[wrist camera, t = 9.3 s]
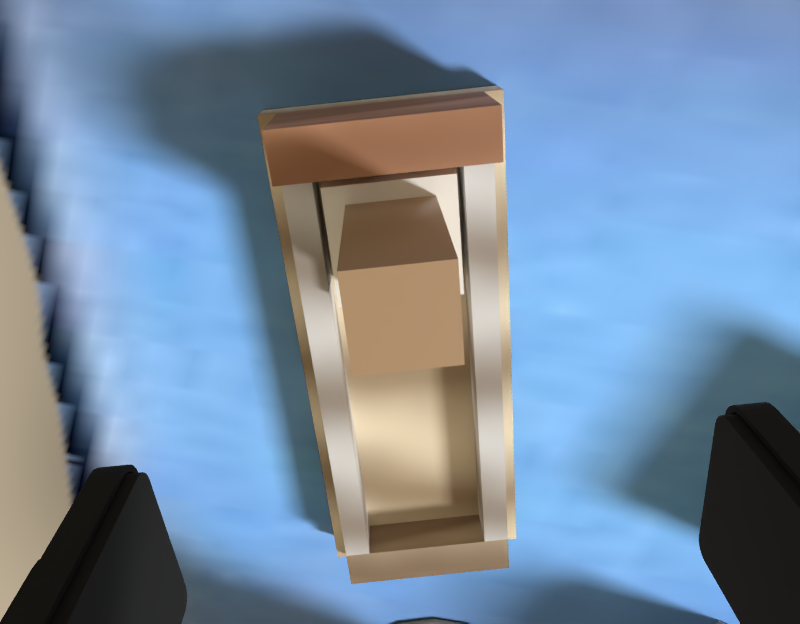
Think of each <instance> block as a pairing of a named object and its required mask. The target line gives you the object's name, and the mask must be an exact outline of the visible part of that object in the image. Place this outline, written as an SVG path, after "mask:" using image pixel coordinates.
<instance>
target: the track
mask: <svg viewBox="0 0 800 624" xmlns="http://www.w3.org/2000/svg"><path fill="white" fill-rule="evenodd" d="M257 117H258V122H259V128H260V133H261V139H262V144H263V150H264V155H265V161H266V166H267V172H268V177H269V182H270V188H271V193H272V199H273V204H274V210H275V215H276V221H277V226H278V232H279V237H280V242H281V248H282V253H283V259H284V264H285V270H286V275H287V281H288V286H289V292H290V297H291V303H292V308H293V313H294V319H295V324H296V330H297V335H298V341H299V346H300V352H301V357H302V363H303V368H304V374H305V379H306V384H307V390H308V395H309V401H310V406H311V412H312V417H313V423H314V428H315V434H316V439H317V444H318V450H319V455H320V461H321V466H322V472H323V477H324V483H325V488H326V494H327V499H328V505H329V510H330V515H331V521H332V526H333V532H334V537H335V543H336V548H337V554H338V557H342V556H347V562H348V567H349V573H350V579H351V584H356V583H366V582H375V581H385V580H395V579H404V578H414V577H423V576H433V575H443V574H452V573H462V572H472V571H481V570H491V569H501V568H509V560H508V539H516V514H515V479H514V443H513V408H512V372H511V337H510V302H509V266H508V231H507V195H506V160H505V124H504V89H502V88H500V87H499V86H497V85H496V86H487V87H477V88H468V89H458V90H449V91H440V92H430V93H421V94H411V95H402V96H393V97H383V98H374V99H364V100H355V101H346V102H336V103H327V104H317V105H308V106H299V107H289V108H280V109H270V110H263V111H262V112H260V113H259V114H258V115H257ZM453 167H454V169H455V171H456V173H457V183H458V200H459V217H460V233H461V250H462V267H463V283H464V294H461V311H462V327H463V343H464V359H465V365H458V366H448V367H439V368H429V369H420V370H410V371H401V372H391V373H382V374H372V375H362V376H353V377H352V371H351V365H350V358H349V351H348V344H347V338H346V331H345V324H344V317H343V310H342V307H338V303H337V296H336V289H335V283H334V276H333V269H332V263H331V256H330V250H329V243H328V236H327V230H326V223H325V216H324V210H323V203H322V196H321V190H320V187H321V184H322V181H331V180H340V179H350V178H359V177H368V176H378V175H387V174H397V173H406V172H416V171H425V170H435V169H444V168H453Z"/></svg>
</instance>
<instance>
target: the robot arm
mask: <svg viewBox="0 0 800 624" xmlns="http://www.w3.org/2000/svg"><path fill="white" fill-rule="evenodd" d="M699 545H700V550H701V553H702V556H703V559H704V561H705V563H706V564H707V566H708V568H709V570H710V571H711V573H712V575H713V577H714V578H715V580H716V582H717V584H718V585H719V587H720V589H721V590H722V592H723V594H724V596H725V597H726V599H727V601H728V603H729V604H730V606H731V608H732V610H733V611H734V613H735V615H736V617H737V618H738V620H739V622H740V624H800V433H799V432H798V431H797V430H796V429H795V428H794V427H793V426H792V425H791V424H790V423H789V422H788V421H787V420H786V419H785V417H784V416H783V415H782V414H781V413H780V412H779V411H778V410H777V409H776V408H775V407H774V406H773V405H771V404H770V403H767V402H762V403H752V404H742V405H732V406H730V407H728V409H727V410H726V413H725V415H722V416H719V417H718V418H717V420H716V423H715V430H714V437H713V444H712V451H711V457H710V464H709V471H708V478H707V485H706V492H705V499H704V506H703V513H702V519H701V526H700V533H699ZM186 603H187V591H186V586H185V583H184V580H183V577H182V574H181V571H180V568H179V565H178V562H177V559H176V556H175V553H174V550H173V547H172V544H171V541H170V539H169V536H168V533H167V530H166V527H165V524H164V521H163V518H162V515H161V512H160V509H159V506H158V503H157V500H156V498H155V495H154V492H153V489H152V486H151V483H150V480H149V478H148V475H147V474H146V473H143V472H141V473H138V471H137V469H136V468H135V467H134V466H133V465H121V466H111V467H101V468H96V469H94V470H93V471H92V472H91V474H90V475H89V477H88V479H87V480H86V482H85V484H84V485H83V487H82V489H81V491H80V492H79V494H78V496H77V497H76V499H75V501H74V503H73V504H72V506H71V508H70V509H69V511H68V513H67V514H66V516H65V518H64V520H63V521H62V523H61V525H60V527H59V528H58V530H57V532H56V533H55V535H54V537H53V538H52V540H51V542H50V544H49V545H48V547H47V549H46V550H45V552H44V554H43V555H42V557H41V559H40V560H38V561H37V563H36V564H35V565H34V567H33V568H32V569H31V571H30V573H29V574H28V576H27V578H26V580H25V581H24V583H23V585H22V586H21V588H20V590H19V591H18V593H17V595H16V596H15V598H14V600H13V601H12V603H11V605H10V606H9V608H8V610H7V612H6V613H5V615H4V617H3V618H2V620H1V622H0V624H181V623H182V619H183V616H184V613H185V609H186Z"/></svg>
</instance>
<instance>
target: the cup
mask: <svg viewBox="0 0 800 624" xmlns="http://www.w3.org/2000/svg"><path fill="white" fill-rule="evenodd" d="M397 624H466V623H460V622H454V621H448V620H442V619H436V618H432V619H424V620H415V621H407V622H399V623H397Z"/></svg>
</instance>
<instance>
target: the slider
mask: <svg viewBox="0 0 800 624" xmlns="http://www.w3.org/2000/svg"><path fill="white" fill-rule="evenodd" d="M320 190H321V196H322V203H323V210H324V216H325V223H326V230H327V236H328V243H329V250H330V256H331V263H332V269H333V276H334V283H335V289H336V296H337V303H338V307H342V310H343V317H344V324H345V331H346V338H347V344H348V351H349V358H350V365H351V371H352V377H353V376H362V375H372V374H382V373H391V372H401V371H410V370H420V369H429V368H439V367H448V366H458V365H465V359H464V343H463V327H462V311H461V294H464V283H463V267H462V250H461V233H460V217H459V200H458V183H457V173H456V171H455V169H454V167H453V168H444V169H435V170H425V171H416V172H406V173H397V174H387V175H378V176H368V177H359V178H350V179H340V180H331V181H322V184H321V187H320Z"/></svg>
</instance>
